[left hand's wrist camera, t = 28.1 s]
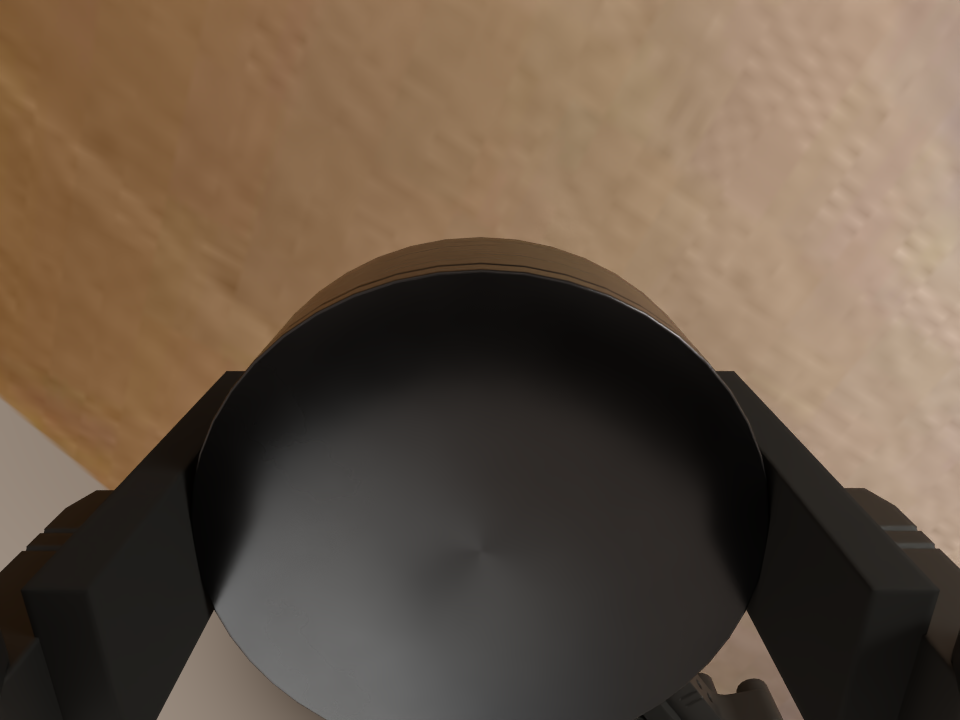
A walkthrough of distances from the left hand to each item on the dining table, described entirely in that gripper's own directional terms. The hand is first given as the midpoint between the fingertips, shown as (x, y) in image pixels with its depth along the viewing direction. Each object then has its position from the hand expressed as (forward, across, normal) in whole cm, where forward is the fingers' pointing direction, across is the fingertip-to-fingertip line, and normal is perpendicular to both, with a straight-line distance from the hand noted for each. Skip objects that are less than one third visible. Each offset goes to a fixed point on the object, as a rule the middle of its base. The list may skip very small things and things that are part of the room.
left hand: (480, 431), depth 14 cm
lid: (-4, 0, 0) cm, 4 cm away
